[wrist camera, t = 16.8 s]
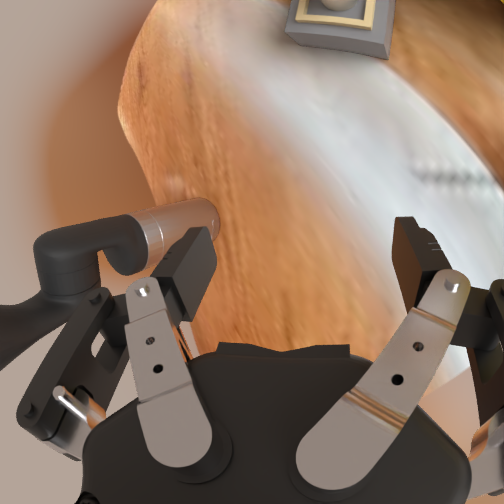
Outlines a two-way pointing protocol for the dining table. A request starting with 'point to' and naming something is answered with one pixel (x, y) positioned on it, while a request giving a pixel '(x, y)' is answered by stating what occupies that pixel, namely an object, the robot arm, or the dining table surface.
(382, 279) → the dining table surface
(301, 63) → the dining table surface
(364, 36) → the display riser
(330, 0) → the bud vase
